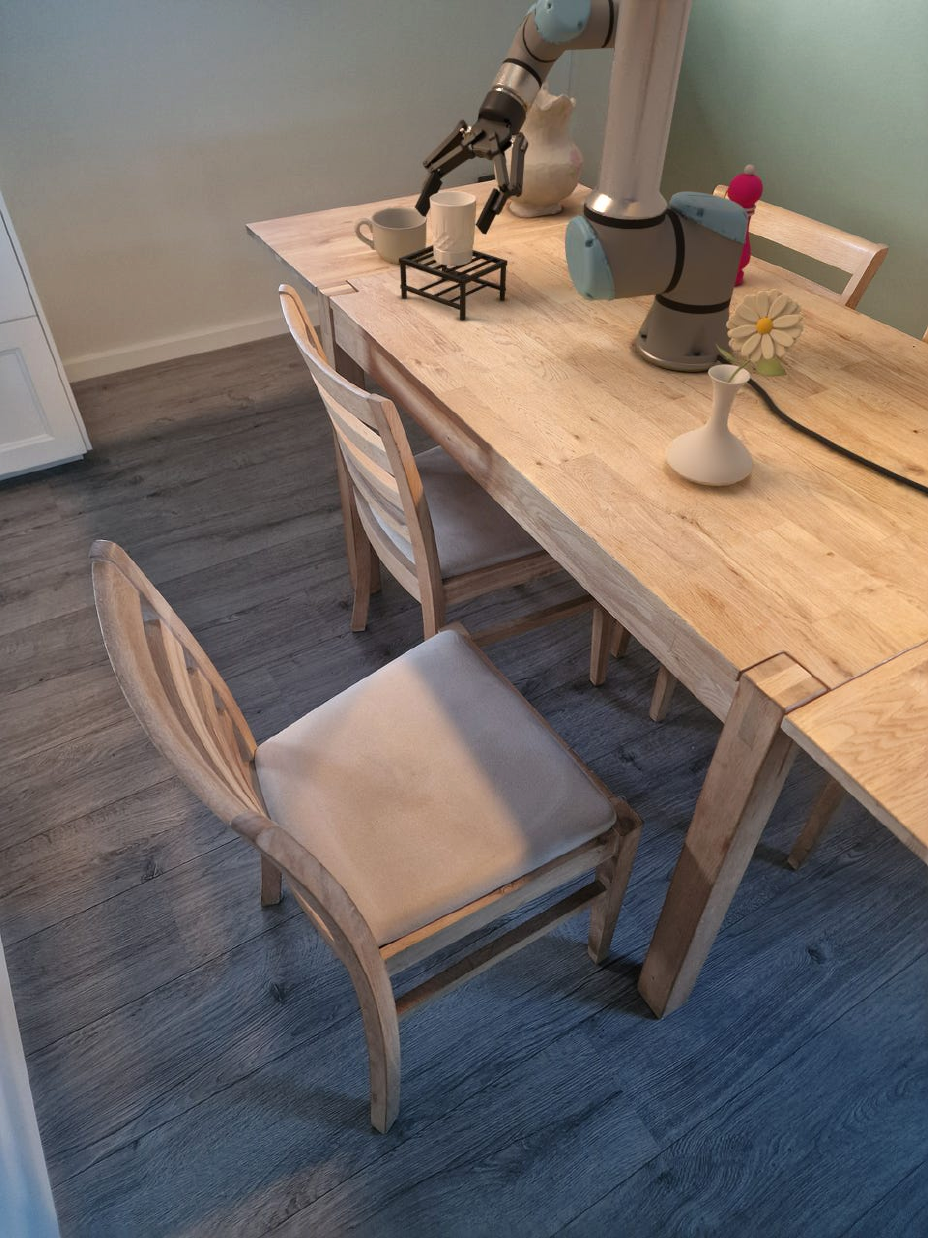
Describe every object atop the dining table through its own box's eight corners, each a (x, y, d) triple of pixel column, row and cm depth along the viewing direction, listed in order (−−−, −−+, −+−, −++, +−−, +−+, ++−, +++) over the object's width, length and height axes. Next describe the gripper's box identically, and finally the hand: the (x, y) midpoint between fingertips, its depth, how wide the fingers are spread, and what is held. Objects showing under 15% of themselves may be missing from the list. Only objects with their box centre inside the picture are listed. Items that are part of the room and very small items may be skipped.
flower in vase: (645, 469, 111) (680, 280, 94) (694, 437, 117) (735, 254, 100) (730, 510, 105) (784, 316, 87) (777, 475, 110) (837, 286, 93)
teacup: (431, 249, 169) (430, 207, 164) (424, 270, 161) (422, 226, 156) (363, 246, 170) (360, 205, 165) (353, 266, 162) (349, 223, 157)
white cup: (425, 253, 149) (424, 192, 142) (467, 248, 150) (468, 188, 144) (438, 269, 143) (437, 207, 136) (481, 264, 145) (482, 203, 138)
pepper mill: (752, 284, 157) (780, 168, 144) (720, 289, 155) (745, 172, 142) (730, 270, 162) (755, 156, 149) (698, 275, 160) (721, 160, 147)
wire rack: (506, 299, 151) (507, 260, 147) (463, 320, 145) (463, 280, 140) (444, 278, 158) (443, 240, 154) (400, 297, 152) (398, 258, 147)
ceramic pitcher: (486, 198, 197) (480, 75, 179) (566, 187, 198) (568, 64, 181) (505, 230, 181) (501, 99, 164) (592, 218, 183) (597, 86, 165)
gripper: (577, 130, 137) (516, 249, 139) (461, 107, 149) (407, 217, 151) (561, 98, 130) (498, 224, 132) (441, 76, 142) (384, 192, 144)
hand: (449, 220), depth 141 cm, fingers open, 13 cm apart
